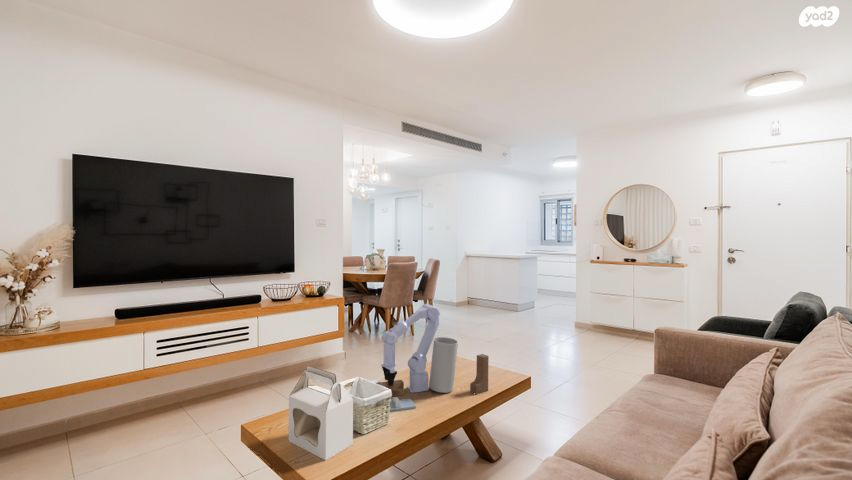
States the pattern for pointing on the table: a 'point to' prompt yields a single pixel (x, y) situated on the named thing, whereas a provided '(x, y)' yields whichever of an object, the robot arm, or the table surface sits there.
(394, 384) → the walnut plank
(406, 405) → the blue-grey flat rectangular panel
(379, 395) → the storage basket
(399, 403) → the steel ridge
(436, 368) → the cylinder vase
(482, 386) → the wooden block
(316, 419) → the gable box
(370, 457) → the table surface
